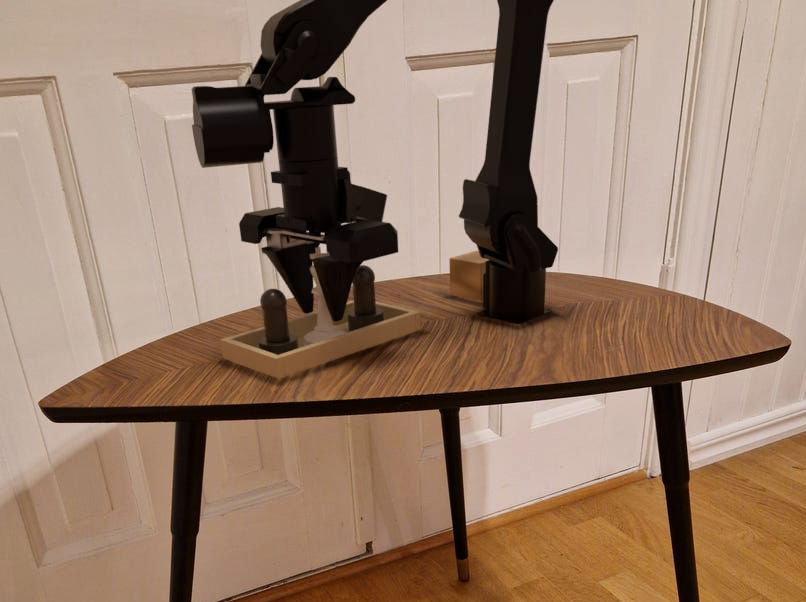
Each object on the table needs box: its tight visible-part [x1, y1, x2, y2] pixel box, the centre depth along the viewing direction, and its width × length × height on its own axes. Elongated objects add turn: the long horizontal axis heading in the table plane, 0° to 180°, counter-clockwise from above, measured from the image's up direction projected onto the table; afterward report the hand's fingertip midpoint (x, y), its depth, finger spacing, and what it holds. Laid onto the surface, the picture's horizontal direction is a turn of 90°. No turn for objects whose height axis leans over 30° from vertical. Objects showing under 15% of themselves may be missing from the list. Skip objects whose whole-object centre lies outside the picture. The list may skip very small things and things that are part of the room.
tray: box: [219, 299, 422, 380], centre depth 86 cm, size 20×10×2 cm, turn 134°
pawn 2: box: [347, 264, 384, 332], centre depth 88 cm, size 4×4×7 cm
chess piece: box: [303, 246, 347, 346], centre depth 84 cm, size 5×5×10 cm
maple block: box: [449, 250, 489, 302], centre depth 101 cm, size 5×5×5 cm
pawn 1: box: [258, 288, 299, 355], centre depth 81 cm, size 4×4×7 cm
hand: (322, 316), depth 85 cm, fingers open, 4 cm apart
